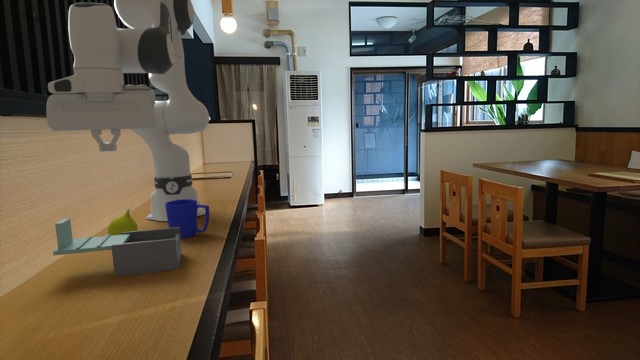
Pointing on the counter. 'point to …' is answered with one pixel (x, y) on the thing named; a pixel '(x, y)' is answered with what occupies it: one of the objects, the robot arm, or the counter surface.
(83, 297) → the counter surface
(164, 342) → the counter surface
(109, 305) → the counter surface
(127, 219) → the pear
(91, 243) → the lid
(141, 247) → the grey box
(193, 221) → the mug
